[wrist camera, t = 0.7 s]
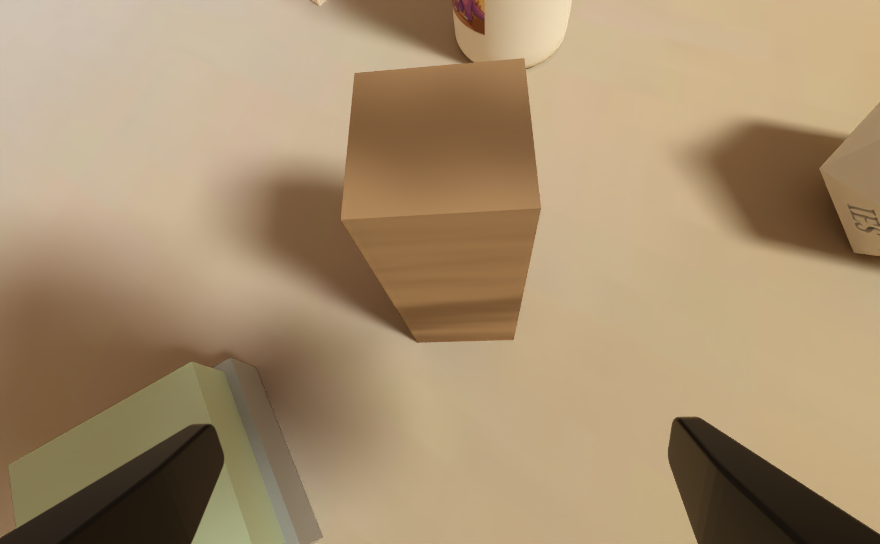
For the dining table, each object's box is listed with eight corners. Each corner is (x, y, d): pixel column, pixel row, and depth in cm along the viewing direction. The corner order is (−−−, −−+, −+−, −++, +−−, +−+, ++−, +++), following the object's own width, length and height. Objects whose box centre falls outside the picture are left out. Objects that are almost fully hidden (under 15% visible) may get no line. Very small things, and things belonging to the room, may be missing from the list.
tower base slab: (322, 537, 20) (301, 547, 18) (137, 655, 19) (88, 682, 17) (255, 367, 23) (230, 357, 21) (96, 459, 22) (50, 459, 20)
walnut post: (513, 339, 23) (540, 208, 11) (417, 342, 23) (340, 219, 11) (507, 252, 24) (524, 58, 13) (418, 256, 25) (354, 73, 13)
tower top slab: (285, 541, 18) (255, 554, 15) (98, 660, 17) (36, 692, 15) (223, 371, 21) (191, 361, 19) (63, 464, 20) (7, 465, 18)
